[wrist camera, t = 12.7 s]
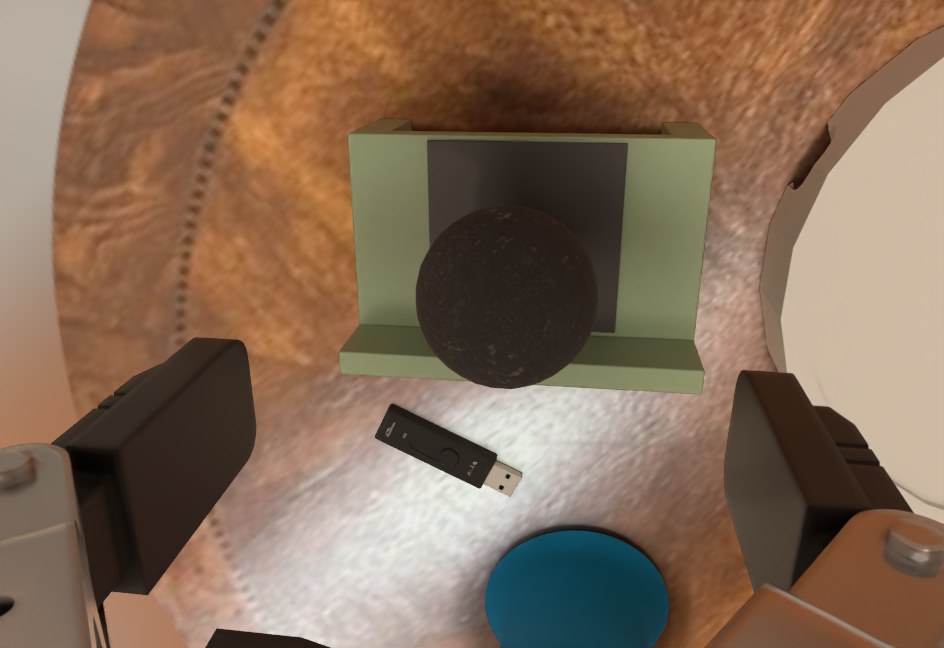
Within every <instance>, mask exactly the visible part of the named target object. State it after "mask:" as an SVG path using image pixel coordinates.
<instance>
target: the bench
mask: <svg viewBox="0 0 944 648" xmlns="http://www.w3.org/2000/svg"><path fill="white" fill-rule="evenodd" d="M348 147H349V163H350V179H351V195H352V211H353V227H354V243H355V259H356V275H357V291H358V307H359V323H360V325H359V326H358V327H357V328H356V330H355V331H354V332H353V334H352V335H351V336H350V338H349V339H348V340H347V342H346V343H345V344H344V346H343V347H342V348H341V350H340V351H339V361H340V373H341V374H351V375H369V376H387V377H404V378H422V379H439V380H457V381H469V380H467V379H465V378H463V377H461V376H459V375H458V374H457V373H455V372H454V371H452V370H451V369H449V368H448V367H447V366H446V365H445V364H444V363H443V362H442V361H441V360H440V359H439V358H438V357H437V356H436V355H435V353H434V352H433V350H432V349H431V348H430V346H429V345H428V343H427V341H426V339H425V337H424V334H423V332H422V330H421V327H420V324H419V321H418V318H417V311H416V284H417V279H418V275H419V270H420V266H421V264H422V262H423V260H424V258H425V256H426V254H427V252H428V250H429V248H430V247H431V246H432V244H433V242H434V241H435V240H436V239H437V237H438V236H439V235H440V234H441V233H442V232H443V231H444V230H445V229H447V228H448V227H449V226H450V225H451V224H452V223H454V222H455V221H457V220H459V219H460V218H462V217H464V216H466V215H468V214H470V213H472V212H474V211H476V210H480V209H484V208H487V207H493V206H497V205H511V206H523V207H527V208H531V209H535V210H538V211H542V212H544V213H546V214H547V215H549V216H551V217H553V218H555V219H556V220H558V221H559V222H561V223H562V224H563V225H565V226H566V227H567V228H568V229H569V230H570V231H571V232H572V233H573V234H574V235H575V236H576V237H577V239H578V240H579V241H580V243H581V244H582V245H583V247H584V248H585V250H586V252H587V254H588V255H589V257H590V259H591V262H592V265H593V268H594V271H595V274H596V277H597V285H598V296H599V300H598V306H597V315H596V319H595V322H594V326H593V330H592V332H591V335H590V337H589V338H588V340H587V342H586V344H585V345H584V347H583V349H582V350H581V351H580V353H579V354H578V355H577V356H576V357H575V358H574V360H573V361H572V362H571V363H570V364H569V365H567V366H566V367H565V368H563V369H562V370H561V371H559V372H558V373H557V374H555V375H554V376H552V377H550V378H548V379H546V380H544V381H542V382H540V383H537V384H534V385H545V386H563V387H580V388H598V389H615V390H633V391H651V392H668V393H686V394H702V390H703V382H704V374H705V371H704V368H703V366H702V363H701V360H700V357H699V354H698V351H697V349H696V346H695V343H694V334H695V326H696V317H697V308H698V299H699V290H700V281H701V273H702V264H703V255H704V246H705V237H706V228H707V220H708V211H709V202H710V193H711V184H712V175H713V167H714V158H715V149H716V139H715V138H714V137H713V136H712V135H710V134H709V133H708V132H707V131H706V130H705V129H703V128H702V127H701V126H700V125H699V124H698V123H666V122H664V123H663V124H662V131H661V135H653V134H583V133H513V132H442V131H412V126H411V120H410V119H379V120H377V121H374V122H372V123H370V124H368V125H366V126H364V127H361V128H359V129H357V130H355V131H353V132H351V133H348Z"/></svg>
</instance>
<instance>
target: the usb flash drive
mask: <svg viewBox="0 0 944 648" xmlns="http://www.w3.org/2000/svg"><path fill="white" fill-rule="evenodd" d="M375 438H376V439H378V440H380V441H382V442H384V443H386V444H388V445H390V446H392V447H394V448H396V449H398V450H401V451H403V452H405V453H407V454H409V455H411V456H413V457H415V458H417V459H419V460H421V461H423V462H425V463H427V464H430V465H432V466H434V467H436V468H438V469H440V470H442V471H444V472H446V473H448V474H450V475H452V476H454V477H456V478H459V479H461V480H463V481H465V482H467V483H469V484H471V485H473V486H475V487H477V488H481V487H482V485H483V484H485V485H487V486H489V487H491V488H493V489H495V490H497V491H499V492H501V493H503V494H505V495H508V496H510V497H511V495H512V493H513V492H514V490H515V488H516V487H517V485H518V483H519V482H520V480H521V478H522V473H520V472H518V471H516V470H514V469H512V468H510V467H508V466H506V465H503V464H501V463H499V462H497V461H496V458H497V454H496V453H494V452H492V451H490V450H488V449H486V448H483V447H481V446H479V445H477V444H475V443H473V442H471V441H469V440H467V439H465V438H463V437H461V436H459V435H457V434H455V433H452V432H450V431H448V430H446V429H444V428H442V427H440V426H438V425H436V424H434V423H432V422H430V421H428V420H426V419H423V418H421V417H419V416H417V415H415V414H413V413H411V412H409V411H407V410H405V409H403V408H401V407H399V406H397V405H395V404H391V405H390V407H389V409H388V410H387V413H386V415H385V417H384V419H383V421H382V423H381V425H380V427H379V429H378V431H377V433H376V435H375Z"/></svg>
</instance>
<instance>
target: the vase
mask: <svg viewBox="0 0 944 648" xmlns="http://www.w3.org/2000/svg"><path fill="white" fill-rule="evenodd" d="M485 609H486V614H487V618H488V621H489V624H490V626H491V628H492V630H493V632H494V634H495V635H496V637H497V639H498V640H499V642H500V643H501V644H502V646H501V647H500V648H653V646H654V645H655V644H656V642H657V641H658V639H659V637H660V636H661V634H662V632H663V630H664V628H665V625H666V622H667V618H668V613H669V598H668V593H667V589H666V586H665V583H664V581H663V579H662V577H661V575H660V573H659V572H658V570H657V569H656V567H655V566H654V565H653V564H652V562H651V561H650V560H649V559H648V558H647V557H646V556H644V555H643V554H642V553H641V552H640V551H638V550H637V549H635V548H634V547H632V546H631V545H629V544H627V543H625V542H623V541H621V540H619V539H616V538H614V537H611V536H608V535H604V534H600V533H596V532H589V531H559V532H553V533H548V534H544V535H541V536H538V537H535V538H533V539H530V540H528V541H526V542H524V543H522V544H521V545H519V546H517V547H516V548H514V549H513V550H512V551H510V552H509V553H508V554H507V555H506V556H505V557H504V558H503V559H502V560H501V561H500V562H499V563H498V565H497V566H496V568H495V569H494V571H493V572H492V574H491V576H490V579H489V581H488V584H487V588H486V593H485Z"/></svg>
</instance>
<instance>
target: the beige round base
mask: <svg viewBox="0 0 944 648" xmlns="http://www.w3.org/2000/svg"><path fill="white" fill-rule="evenodd" d="M827 123H828V129H829V134H830V138H831V143H830V145H829V146H828V148H827V149H826V151H825V152H824V153H823V155H822V156H821V157H820V159H819V160H818V161H817V162H816V163H815V165H814V166H813V168H812V169H811V171H810V173H809V175H808V176H807V178H806V179H805V181H804V182H803V183H802V185H801V186H800V187H799V188H798V189H796V190H795V189H794V185H793V183H791V184H790V185H787V187H786V189H785V192H784V194H783V196H782V198H781V200H780V203H779V205H778V207H777V209H776V211H775V214H774V216H773V218H772V220H771V222H770V227H769V233H768V239H767V245H766V252H765V258H764V264H763V270H762V276H761V282H760V295H761V303H762V311H763V319H764V327H765V334H766V342H767V348H768V350H769V353H770V355H771V357H772V359H773V361H774V363H775V366H776V368H777V370H778V372H783V373H793V374H794V375H795V376H796V378H797V380H798V381H799V383H800V385H801V386H802V388H803V390H804V391H805V393H806V395H807V397H808V398H809V400H810V402H811V403H812V405H813V406H829V407H830V408H832V409H833V410H835V411H836V412H838V413H839V414H840V415H842V416H843V417H845V418H846V419H848V420H849V421H850V422H852V423H853V424H855V425H856V427H857V428H858V430H859V431H860V433H861V434H862V436H863V437H864V439H865V440H866V442H867V443H868V445H869V449H872V451H873V452H874V454H875V455H876V457H877V458H878V460H879V461H880V466H883V467H884V469H885V470H886V472H887V473H888V475H889V476H890V478H891V479H892V481H893V482H894V484H895V485H896V487H897V488H898V490H899V491H900V493H901V494H902V496H903V497H904V499H905V500H906V502H907V503H908V505H909V506H910V508H911V509H912V511H913V512H914V513H915V514H918V515H922V516H925V517H928V518H930V519H933V520H936V521H938V522H940V523H942V524H944V26H943V27H941V28H939V29H937V30H935V31H933V32H931V33H929V34H927V35H925V36H923V37H921V38H919V39H917V40H916V41H914V42H913V43H912V44H911V45H909V46H908V47H907V48H906V49H905V50H903V51H902V52H901V53H900V54H898V55H897V56H896V57H895V58H893V59H892V60H891V61H890V62H889V63H887V64H886V65H885V66H884V67H882V68H881V69H880V70H879V71H877V72H876V73H875V74H874V75H873V76H871V77H870V78H869V79H868V80H866V81H865V82H864V83H863V84H861V85H860V86H859V87H858V88H857V89H855V90H854V91H853V92H852V93H850V94H849V95H848V97H847V98H846V99H845V101H844V102H843V103H842V104H841V106H840V107H839V108H838V109H837V111H836V112H835V113H834V115H833V116H832V117H831V118H830V120H829V121H828V122H827Z"/></svg>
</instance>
